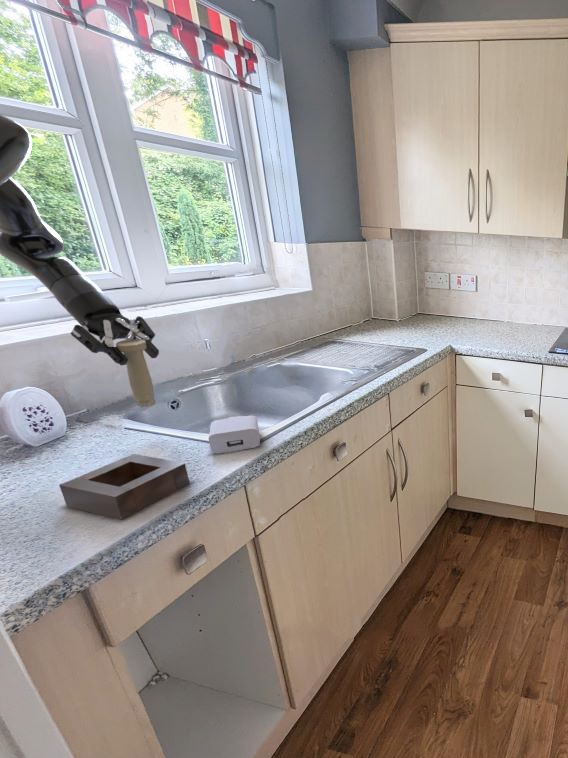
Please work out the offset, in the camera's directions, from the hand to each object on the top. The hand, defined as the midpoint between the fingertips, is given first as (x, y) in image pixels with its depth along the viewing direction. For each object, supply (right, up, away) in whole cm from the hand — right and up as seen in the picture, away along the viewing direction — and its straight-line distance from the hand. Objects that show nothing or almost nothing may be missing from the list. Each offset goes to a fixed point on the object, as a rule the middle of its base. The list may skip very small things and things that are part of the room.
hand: (141, 359), depth 101 cm
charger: (+17, -18, +6) cm, 26 cm away
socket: (+14, -27, -18) cm, 35 cm away
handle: (-2, -11, +4) cm, 12 cm away
